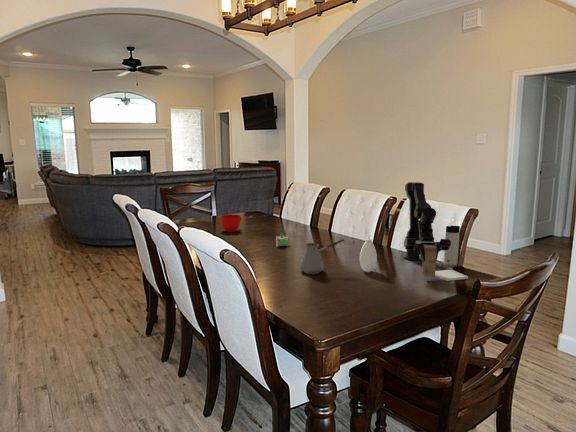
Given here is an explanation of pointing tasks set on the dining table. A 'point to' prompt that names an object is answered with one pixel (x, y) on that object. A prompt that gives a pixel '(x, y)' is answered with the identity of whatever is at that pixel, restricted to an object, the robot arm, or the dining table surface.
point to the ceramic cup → (230, 222)
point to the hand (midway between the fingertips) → (430, 261)
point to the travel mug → (452, 246)
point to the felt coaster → (450, 275)
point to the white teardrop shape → (368, 256)
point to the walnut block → (429, 261)
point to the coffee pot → (313, 258)
